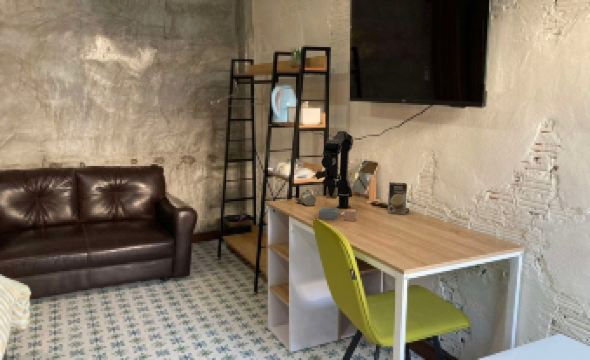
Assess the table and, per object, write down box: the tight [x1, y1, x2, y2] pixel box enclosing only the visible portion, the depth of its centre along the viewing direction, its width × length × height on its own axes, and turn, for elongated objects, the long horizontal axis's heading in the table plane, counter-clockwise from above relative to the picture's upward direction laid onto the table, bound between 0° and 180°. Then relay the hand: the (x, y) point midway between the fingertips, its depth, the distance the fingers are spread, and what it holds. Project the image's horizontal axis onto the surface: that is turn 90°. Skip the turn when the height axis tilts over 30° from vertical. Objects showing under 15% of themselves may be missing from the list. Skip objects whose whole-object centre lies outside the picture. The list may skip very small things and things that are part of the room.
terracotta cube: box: [344, 208, 358, 222], centre depth 257 cm, size 5×5×5 cm
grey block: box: [318, 207, 340, 220], centre depth 263 cm, size 9×9×4 cm
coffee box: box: [387, 182, 408, 215], centre depth 272 cm, size 9×6×16 cm
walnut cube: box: [325, 187, 338, 200], centre depth 261 cm, size 5×5×5 cm
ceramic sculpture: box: [295, 189, 317, 207], centre depth 293 cm, size 11×9×15 cm
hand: (331, 195), depth 262 cm, fingers closed on walnut cube, 5 cm apart
